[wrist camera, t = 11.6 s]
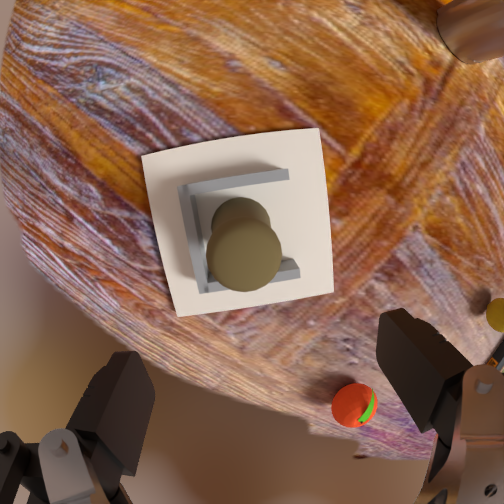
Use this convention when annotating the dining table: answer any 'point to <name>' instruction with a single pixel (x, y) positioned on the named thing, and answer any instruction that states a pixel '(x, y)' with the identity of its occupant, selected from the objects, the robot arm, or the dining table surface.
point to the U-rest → (249, 186)
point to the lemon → (496, 314)
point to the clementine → (354, 405)
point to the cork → (243, 246)
